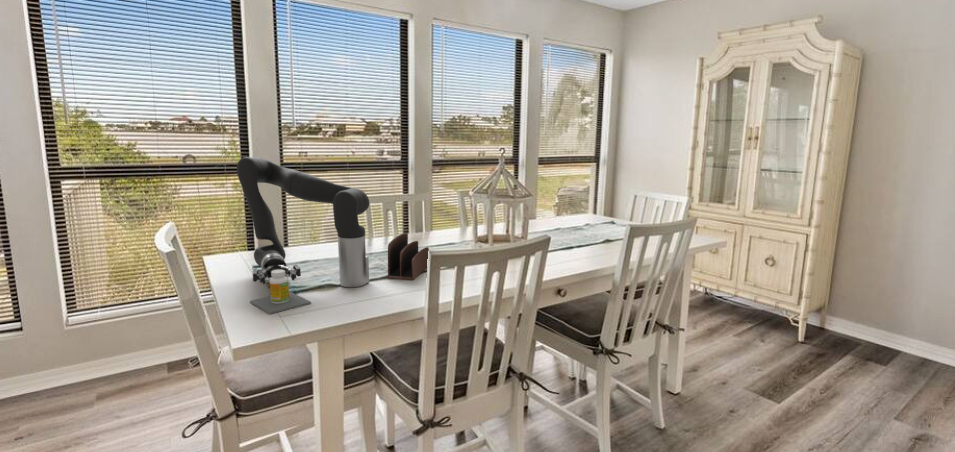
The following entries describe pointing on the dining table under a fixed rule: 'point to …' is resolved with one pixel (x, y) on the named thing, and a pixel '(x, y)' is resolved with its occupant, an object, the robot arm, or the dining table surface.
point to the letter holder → (405, 258)
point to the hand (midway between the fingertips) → (278, 279)
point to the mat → (274, 308)
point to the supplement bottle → (279, 287)
